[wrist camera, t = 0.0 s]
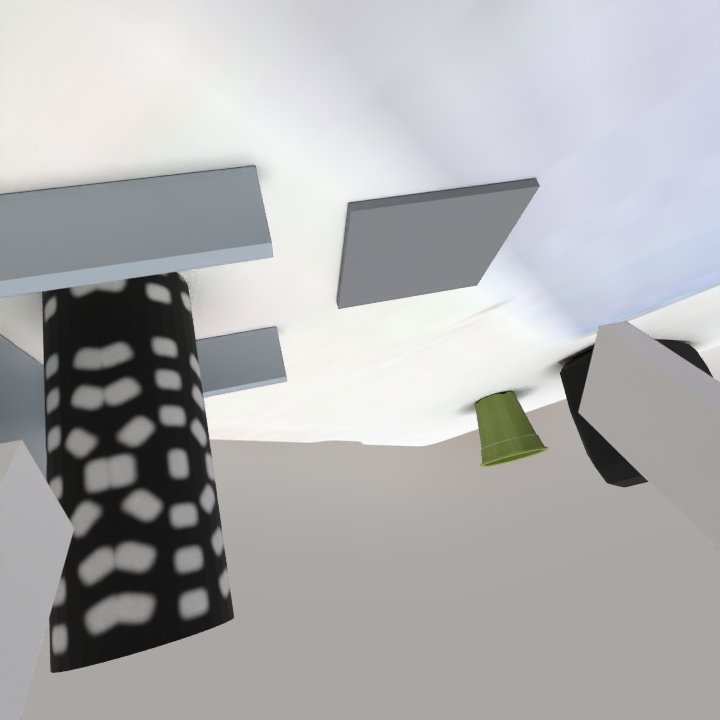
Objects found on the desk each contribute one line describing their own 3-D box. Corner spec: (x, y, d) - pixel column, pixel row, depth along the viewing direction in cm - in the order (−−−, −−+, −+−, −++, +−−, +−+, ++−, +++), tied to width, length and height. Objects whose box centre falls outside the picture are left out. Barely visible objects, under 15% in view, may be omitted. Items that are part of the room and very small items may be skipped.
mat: (348, 203, 28) (351, 211, 28) (536, 178, 30) (539, 186, 30) (336, 302, 39) (338, 309, 39) (474, 279, 41) (476, 285, 41)
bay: (-201, 217, 20) (-238, 422, 17) (255, 165, 24) (290, 329, 21) (35, 375, 38) (37, 489, 35) (277, 332, 42) (297, 434, 39)
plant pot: (495, 386, 81) (519, 453, 77) (538, 384, 88) (562, 445, 84) (448, 410, 90) (467, 471, 86) (490, 407, 97) (510, 463, 93)
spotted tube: (82, 239, 26) (106, 665, 19) (214, 280, 32) (266, 608, 26) (18, 309, 30) (19, 677, 23) (146, 333, 37) (176, 626, 30)
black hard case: (695, 340, 85) (753, 452, 79) (629, 368, 94) (676, 470, 88) (602, 335, 68) (666, 478, 61) (532, 370, 77) (582, 498, 70)
